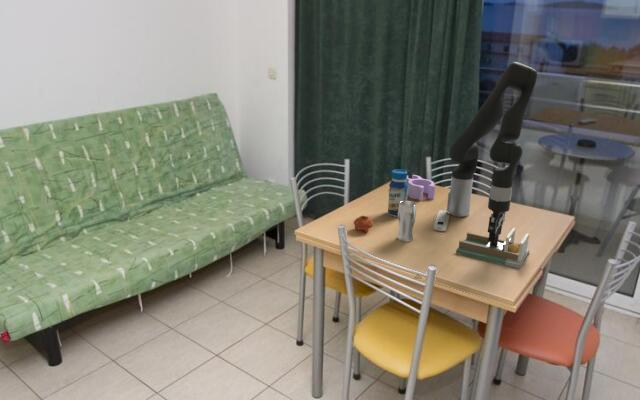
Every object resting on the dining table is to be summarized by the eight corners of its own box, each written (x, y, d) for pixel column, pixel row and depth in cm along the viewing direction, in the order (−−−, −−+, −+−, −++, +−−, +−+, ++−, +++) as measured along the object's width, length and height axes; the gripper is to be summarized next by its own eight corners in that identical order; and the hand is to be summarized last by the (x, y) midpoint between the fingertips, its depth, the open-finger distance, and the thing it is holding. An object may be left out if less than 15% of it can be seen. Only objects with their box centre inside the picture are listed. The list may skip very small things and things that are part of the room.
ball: (520, 250, 188) (514, 257, 190) (522, 246, 191) (516, 253, 193) (510, 243, 189) (504, 251, 191) (513, 239, 192) (507, 247, 194)
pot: (358, 224, 221) (362, 210, 218) (373, 232, 217) (378, 218, 214) (348, 229, 214) (352, 215, 211) (363, 238, 211) (368, 224, 208)
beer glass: (403, 243, 203) (405, 207, 198) (392, 236, 209) (395, 202, 204) (417, 240, 206) (420, 204, 201) (407, 233, 212) (409, 199, 207)
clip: (397, 189, 267) (398, 176, 264) (419, 187, 270) (420, 174, 268) (415, 201, 249) (416, 188, 246) (438, 199, 252) (440, 185, 250)
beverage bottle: (410, 214, 232) (413, 172, 225) (396, 218, 228) (398, 175, 221) (397, 209, 239) (400, 167, 232) (383, 212, 234) (385, 170, 227)
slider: (485, 250, 194) (488, 224, 190) (490, 243, 199) (493, 218, 196) (504, 255, 190) (508, 228, 187) (509, 248, 196) (513, 222, 192)
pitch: (456, 253, 195) (458, 229, 192) (469, 238, 208) (471, 216, 205) (519, 268, 184) (523, 244, 181) (529, 252, 197) (532, 229, 193)
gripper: (494, 189, 196) (489, 229, 202) (484, 200, 185) (479, 242, 190) (515, 193, 192) (509, 233, 198) (505, 204, 181) (499, 247, 186)
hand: (494, 237), depth 194 cm, fingers open, 8 cm apart
